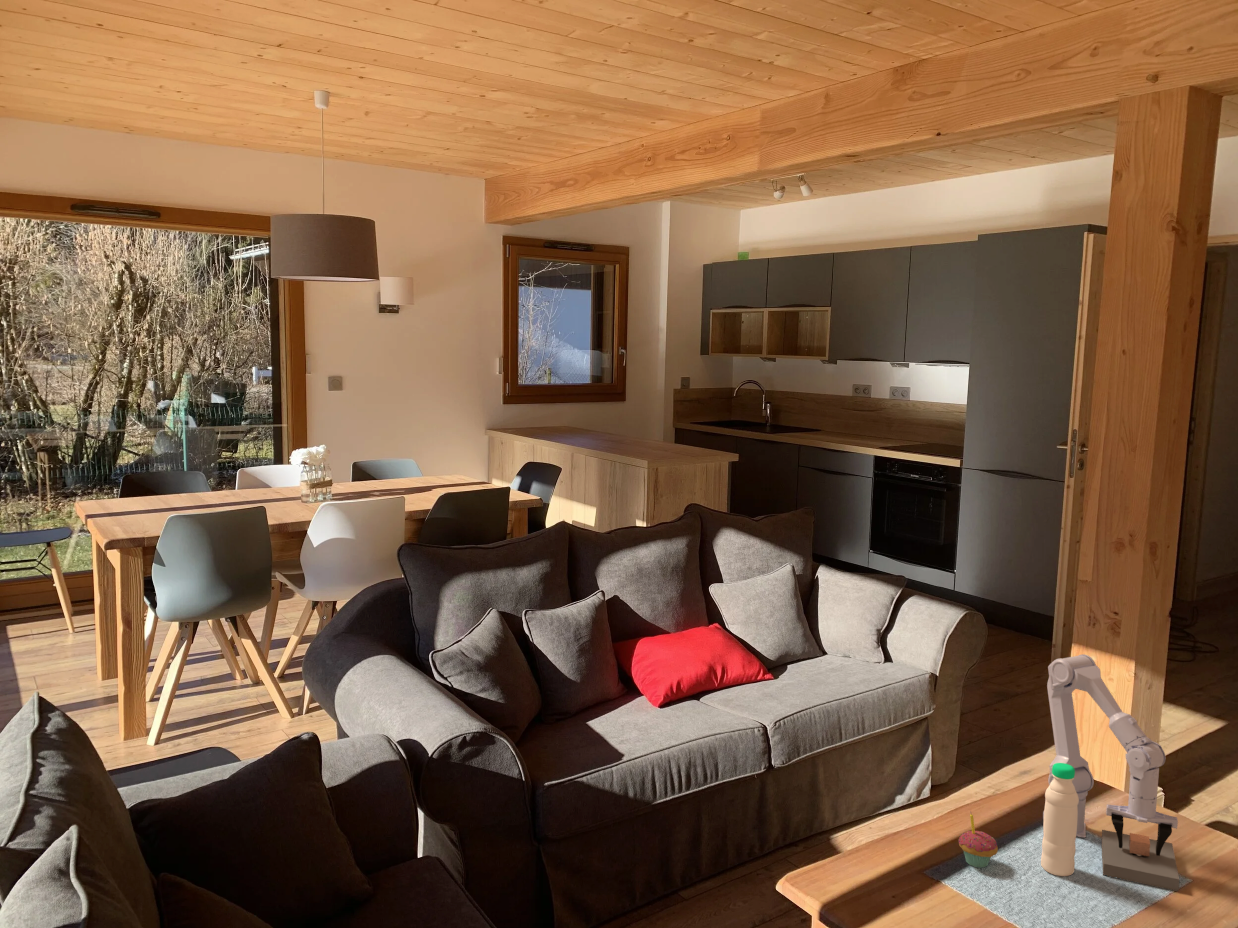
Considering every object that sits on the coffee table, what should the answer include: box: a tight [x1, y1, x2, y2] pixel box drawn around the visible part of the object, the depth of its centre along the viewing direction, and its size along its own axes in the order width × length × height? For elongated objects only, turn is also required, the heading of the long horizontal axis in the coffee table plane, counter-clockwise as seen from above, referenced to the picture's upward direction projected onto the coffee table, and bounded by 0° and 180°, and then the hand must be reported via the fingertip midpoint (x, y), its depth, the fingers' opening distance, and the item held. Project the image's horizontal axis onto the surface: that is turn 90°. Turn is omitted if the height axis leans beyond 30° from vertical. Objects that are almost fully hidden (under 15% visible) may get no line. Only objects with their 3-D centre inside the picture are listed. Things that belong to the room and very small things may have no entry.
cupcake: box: [958, 811, 999, 869], centre depth 224 cm, size 9×8×12 cm
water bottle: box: [1040, 763, 1079, 877], centre depth 220 cm, size 7×7×25 cm
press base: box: [1100, 829, 1180, 892], centre depth 224 cm, size 15×18×3 cm
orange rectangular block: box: [1129, 832, 1150, 856], centre depth 224 cm, size 4×4×6 cm
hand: (1138, 849), depth 224 cm, fingers open, 7 cm apart
